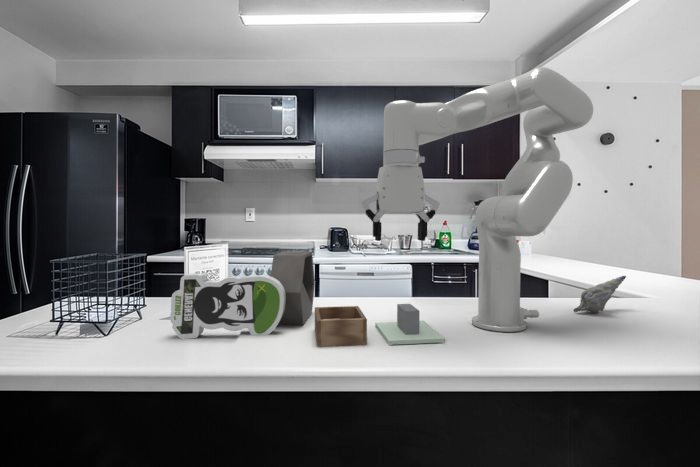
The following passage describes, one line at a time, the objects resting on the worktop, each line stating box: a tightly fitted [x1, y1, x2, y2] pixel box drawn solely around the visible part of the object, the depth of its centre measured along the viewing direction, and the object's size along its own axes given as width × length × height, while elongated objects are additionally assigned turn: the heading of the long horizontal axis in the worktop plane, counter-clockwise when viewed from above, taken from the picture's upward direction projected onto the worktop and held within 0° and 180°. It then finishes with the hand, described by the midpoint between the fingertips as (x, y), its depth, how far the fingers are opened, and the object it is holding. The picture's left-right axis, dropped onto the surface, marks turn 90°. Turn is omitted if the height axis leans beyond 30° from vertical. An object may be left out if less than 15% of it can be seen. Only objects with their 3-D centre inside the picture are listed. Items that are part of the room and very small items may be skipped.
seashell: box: [573, 275, 627, 314], centre depth 107 cm, size 10×17×10 cm, turn 91°
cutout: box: [169, 272, 286, 340], centre depth 86 cm, size 15×3×25 cm
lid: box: [374, 303, 446, 347], centre depth 85 cm, size 12×14×7 cm
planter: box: [269, 251, 316, 326], centre depth 99 cm, size 17×8×21 cm
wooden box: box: [314, 305, 368, 348], centre depth 83 cm, size 10×12×6 cm
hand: (399, 240), depth 84 cm, fingers open, 9 cm apart
